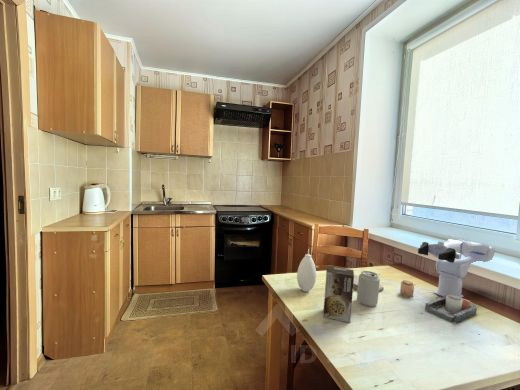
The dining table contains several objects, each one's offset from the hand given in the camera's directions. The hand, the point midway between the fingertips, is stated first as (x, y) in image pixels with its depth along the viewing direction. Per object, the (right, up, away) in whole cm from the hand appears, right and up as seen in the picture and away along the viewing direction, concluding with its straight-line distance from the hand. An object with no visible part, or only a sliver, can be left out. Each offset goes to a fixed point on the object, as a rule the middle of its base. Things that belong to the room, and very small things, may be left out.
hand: (428, 254), depth 102 cm
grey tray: (+5, -21, -5) cm, 22 cm away
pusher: (+10, -21, -1) cm, 23 cm away
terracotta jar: (-4, -20, +9) cm, 22 cm away
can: (-26, -19, -2) cm, 32 cm away
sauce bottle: (-49, -17, +5) cm, 52 cm away
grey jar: (+7, -21, -3) cm, 23 cm away
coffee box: (-41, -19, -13) cm, 47 cm away
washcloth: (-22, -19, +15) cm, 33 cm away
